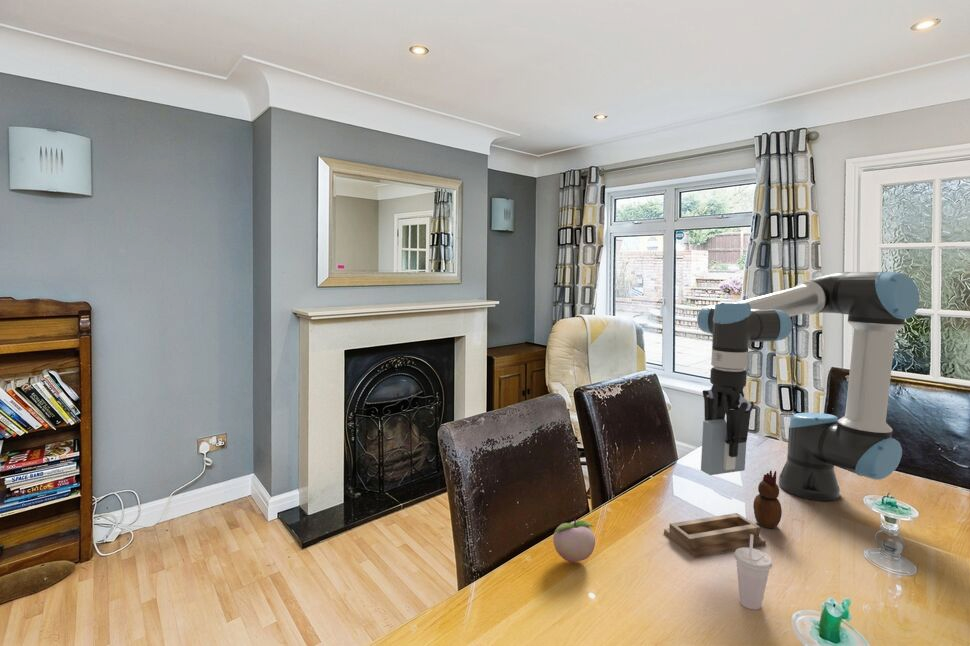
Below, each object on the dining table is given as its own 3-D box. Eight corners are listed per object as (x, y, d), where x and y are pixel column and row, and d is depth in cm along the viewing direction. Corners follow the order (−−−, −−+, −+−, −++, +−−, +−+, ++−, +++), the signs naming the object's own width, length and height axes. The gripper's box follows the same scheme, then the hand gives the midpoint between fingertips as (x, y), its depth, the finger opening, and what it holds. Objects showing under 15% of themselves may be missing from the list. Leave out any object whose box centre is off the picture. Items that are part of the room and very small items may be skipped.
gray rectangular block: (734, 465, 118) (737, 417, 117) (744, 470, 115) (747, 421, 114) (700, 470, 115) (703, 420, 114) (710, 475, 112) (712, 424, 111)
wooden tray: (730, 522, 126) (731, 509, 125) (765, 544, 115) (766, 531, 115) (664, 532, 120) (664, 519, 120) (694, 557, 110) (695, 543, 109)
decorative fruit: (569, 579, 102) (570, 533, 101) (546, 558, 109) (547, 516, 108) (603, 566, 106) (605, 523, 105) (580, 548, 113) (581, 507, 112)
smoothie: (725, 593, 98) (729, 526, 96) (755, 591, 98) (759, 525, 97) (744, 615, 91) (749, 544, 90) (777, 613, 92) (781, 543, 90)
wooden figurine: (784, 532, 121) (788, 474, 119) (758, 530, 122) (762, 472, 120) (773, 519, 127) (777, 464, 126) (749, 517, 129) (753, 462, 127)
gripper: (691, 363, 119) (686, 455, 122) (743, 376, 104) (737, 481, 106) (716, 361, 122) (711, 452, 124) (770, 374, 106) (764, 477, 109)
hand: (723, 465), depth 115 cm, fingers closed on gray rectangular block, 3 cm apart
